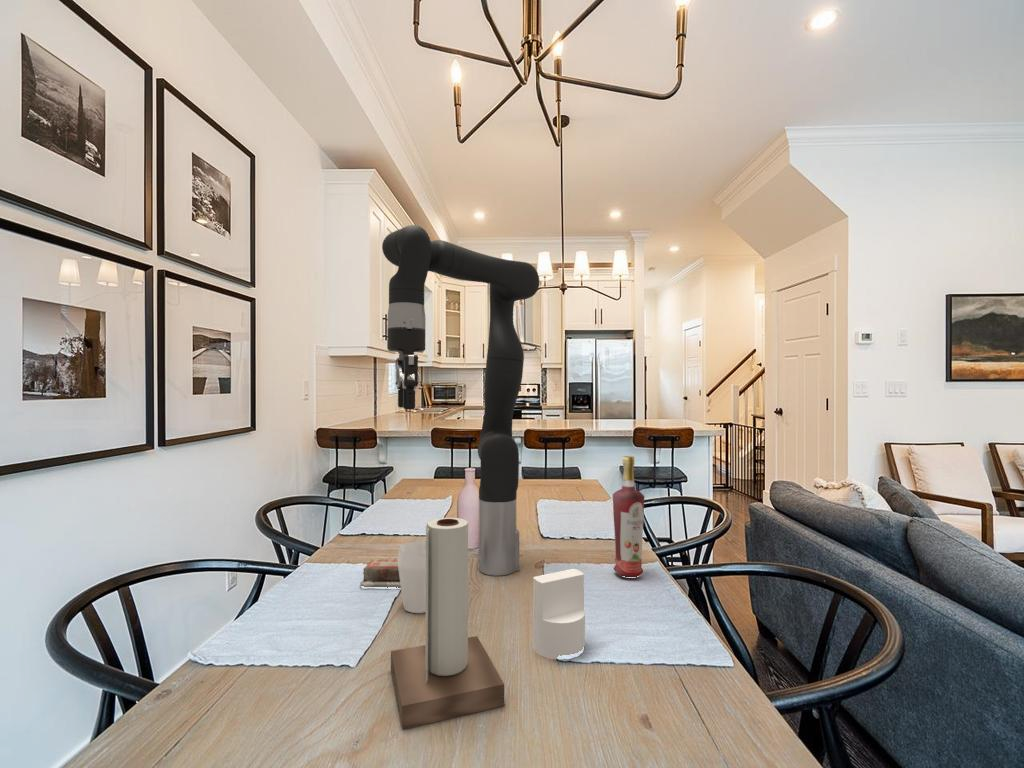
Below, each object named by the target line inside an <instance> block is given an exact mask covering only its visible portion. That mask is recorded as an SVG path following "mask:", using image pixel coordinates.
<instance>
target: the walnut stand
mask: <svg viewBox="0 0 1024 768" xmlns="http://www.w3.org/2000/svg"><path fill="white" fill-rule="evenodd" d="M425 650H426V644H423V645H417V646H412V647H407V648H400V649H396V650H391V651H390V674H391V679H392V684H393V688H394V689H393V690H394V694H395V698H396V705H397V709H398V713H399V715H398V716H399V720H400V725H401V730H406V729H409V728H410V729H411V728H414V727H418V726H422V725H427V724H432V723H436V722H439V721H445V720H448V719H452V718H457V717H458V718H459V717H461V716H465V715H469V714H474V713H479V712H482V711H487V710H488V711H489V710H491V709H497V708H500V707H504V706H505V682H504V681H503V679H502V678H501V676H500V674H499V672H498V670H497V668H496V667H495V665H494V663H493V661H492V660H491V658H490V656H489V654H488V652H487V651H486V648H485V647H484V645H483V644H482V642H481V640H480V638H479V636H478V635H475V636H469V637H468V662H467V665H466V668H465V669H464V670H463V671H461V672H460V673H457V674H455V675H450V676H439V675H436V674H433V673H431V672H430V671H429V670H428V681H427V683H426V671H425Z"/></svg>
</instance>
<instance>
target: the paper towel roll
mask: <svg viewBox="0 0 1024 768" xmlns="http://www.w3.org/2000/svg"><path fill="white" fill-rule="evenodd" d="M425 540H426V612H425V645H426V650H425V671H426V683H427V681H428V670H429V671H430V672H431V673H433V674H436V675H439V676H450V675H455V674H457V673H460V672H461V671H463V670H464V669H465V668H466V665H467V662H468V636H469V634H468V633H469V627H468V625H469V623H468V622H469V614H468V613H469V607H468V606H469V523H468V520H466V519H464V518H459V517H441V518H434V519H432V520H430V521H428V522H427V524H426V525H425Z"/></svg>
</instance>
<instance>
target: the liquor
mask: <svg viewBox="0 0 1024 768" xmlns="http://www.w3.org/2000/svg"><path fill="white" fill-rule="evenodd" d="M622 467H623V474H622V475H623V476H622V484H621V485H622V486H621V489H618V490H617V491H615V492H614V493H613V494H612V505H613V506H612V510H613V528H614V529H613V530H614V551H615V552H614V553H615V554H614V555H615V556H614V558H615V564H614V567H613V571H614V572H616V574H617V575H618V574H619V575H621V576H625V577H637V576H639V577H640V576H641V575H642V574H643V573H644V568H642V565H643V564H642V557H643V532H644V517H645V515H644V513H645V511H644V510H645V495H644V494H643V493H642V492H641V491H639V490H637V489H636V484H635V474H634V467H635V456H633V455H624V456H622ZM619 575H618V576H619ZM621 576H620V577H621Z"/></svg>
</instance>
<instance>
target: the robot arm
mask: <svg viewBox="0 0 1024 768" xmlns="http://www.w3.org/2000/svg"><path fill="white" fill-rule="evenodd" d="M381 246H382V247H381V249H382V253H383V255H384V257H385V258H386V260H387V261H388V262H389V263H390V264H392V265H394V266H396V267H397V270H396V273H395V274H394V275H393V276H392V277H390V279H389V283H388V309H387V310H388V311H387V319H386V321H387V324H386V325H387V327H386V328H387V329H386V330H387V332H386V334H387V337H386V339H387V340H386V341H387V342H386V344H387V346H386V348H387V351H389V352H394V353H398V358H396V360H395V365H394V366H395V380H396V381H395V385H396V389H397V406H398V408H403V409H404V410H414V409H415V408H416V390H417V387H418V386H419V375H418V374H419V370H418V369H419V362H418V361H419V357H418V354H415V353H423V352H425V351H426V319H427V318H426V310H425V284H426V280H427V277H428V273H430V272H431V273H435V274H437V275H441V276H444V277H448V278H451V279H455V280H460V281H467V282H476V283H484V284H489V327H488V344H487V354H486V360H485V361H486V362H485V363H486V364H485V375H484V377H485V378H484V413H483V420H482V426H481V431H480V435H479V441H478V446H477V455H478V458H479V460H480V474H479V477H480V481H479V487H478V559H477V560H478V570H479V572H480V573H482V574H484V575H487V576H499V577H500V576H506V575H510V574H512V573H515V572H517V571H518V572H519V571H520V531H519V529H517V493H518V492H517V491H518V488H519V477H520V476H519V475H520V474H519V472H520V471H519V470H520V453H519V452H520V451H519V448H518V444H517V442H516V441H515V440H514V438H513V416H514V411H515V406H516V403H517V400H518V397H519V393H520V389H521V385H522V380H523V375H524V374H523V373H524V363H525V362H524V360H525V352H524V350H523V346H522V342H521V340H520V338H519V335H518V333H517V331H516V328H515V323H514V307H515V301H523V300H527V299H530V298H532V297H533V296H535V294H536V293H537V292H538V291H539V288H540V277H539V276H540V275H539V273H538V271H537V269H536V267H534V266H533V265H532V264H531V263H529V262H526V261H519V260H518V261H517V260H509V259H505V258H501V257H500V258H499V257H496V256H493V255H492V256H491V255H488V254H484V253H481V252H478V251H474V250H471V249H470V248H469V249H468V248H467V247H463V246H460V245H457V244H454V243H451V242H449V241H446V240H441V239H437V240H431V237H430V236H429V234H428V232H427V230H425V228H423V227H422V226H421V225H418V224H411V225H406V226H404V227H402V228H400V229H398V230H395V231H393V232H390V233H389V234H388V235H386V236H385V238H384V239H383V242H382V245H381Z"/></svg>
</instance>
